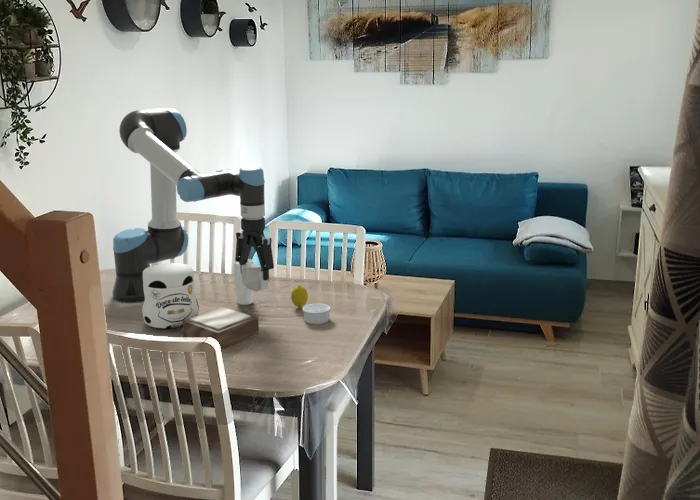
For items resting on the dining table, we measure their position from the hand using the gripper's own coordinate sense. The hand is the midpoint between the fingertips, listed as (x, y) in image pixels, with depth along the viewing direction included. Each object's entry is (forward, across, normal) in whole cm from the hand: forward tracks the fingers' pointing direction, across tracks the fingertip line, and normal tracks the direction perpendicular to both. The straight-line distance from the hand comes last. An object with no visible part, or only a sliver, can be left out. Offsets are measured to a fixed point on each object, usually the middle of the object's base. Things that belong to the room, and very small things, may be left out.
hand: (254, 286), depth 231 cm
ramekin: (+11, +17, +11) cm, 23 cm away
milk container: (+11, -17, -20) cm, 29 cm away
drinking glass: (+11, -13, +8) cm, 19 cm away
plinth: (+11, +3, -17) cm, 20 cm away
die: (+1, 0, 0) cm, 1 cm away
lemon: (+11, +5, +16) cm, 20 cm away
